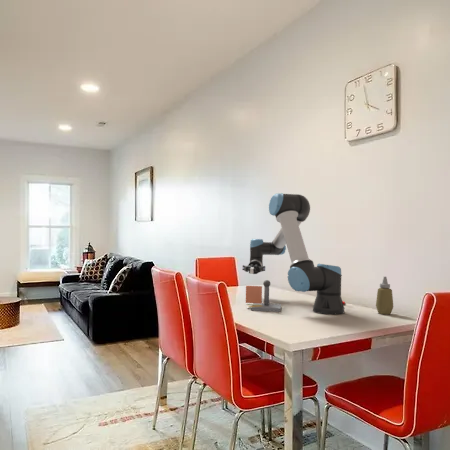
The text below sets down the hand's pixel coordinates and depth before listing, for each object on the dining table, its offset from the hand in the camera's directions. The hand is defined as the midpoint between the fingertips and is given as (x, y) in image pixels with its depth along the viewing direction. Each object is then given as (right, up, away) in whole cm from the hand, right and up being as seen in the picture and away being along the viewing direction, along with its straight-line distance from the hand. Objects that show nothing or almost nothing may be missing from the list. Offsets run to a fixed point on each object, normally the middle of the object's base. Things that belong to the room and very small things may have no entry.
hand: (251, 271), depth 221 cm
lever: (+3, -17, -4) cm, 17 cm away
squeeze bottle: (+64, -20, -12) cm, 68 cm away
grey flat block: (+6, -18, -4) cm, 20 cm away
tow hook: (+48, -20, +16) cm, 55 cm away
